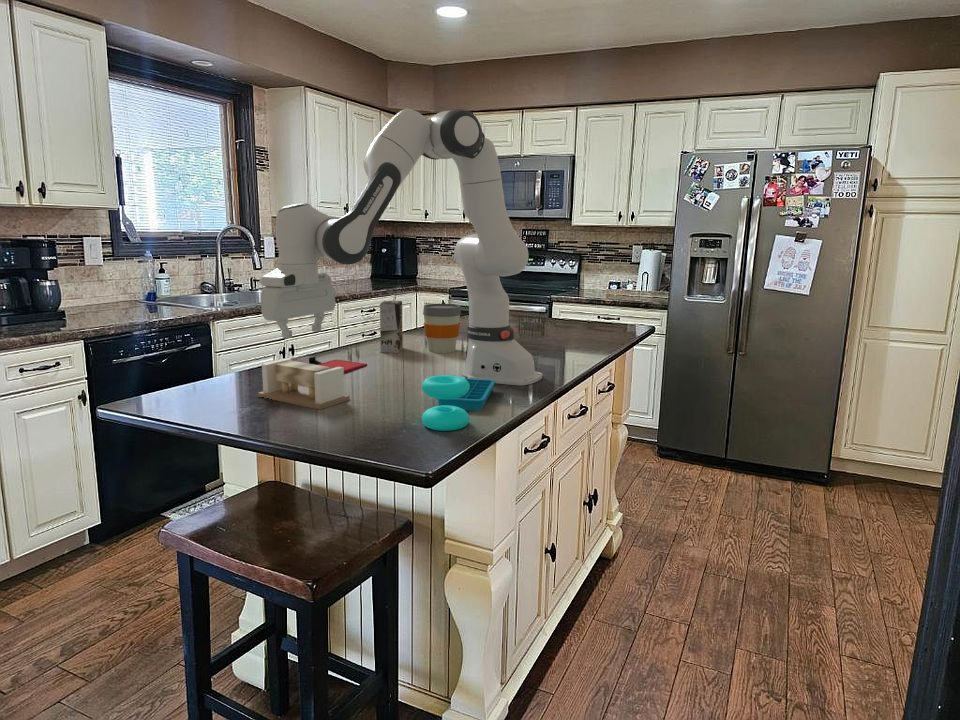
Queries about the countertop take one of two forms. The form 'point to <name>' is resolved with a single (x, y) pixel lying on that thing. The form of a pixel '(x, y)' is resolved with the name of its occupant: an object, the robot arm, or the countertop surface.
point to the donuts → (445, 414)
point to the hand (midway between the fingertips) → (302, 334)
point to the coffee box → (391, 326)
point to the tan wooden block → (298, 372)
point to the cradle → (305, 388)
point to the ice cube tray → (472, 395)
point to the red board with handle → (338, 364)
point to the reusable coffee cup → (441, 326)
